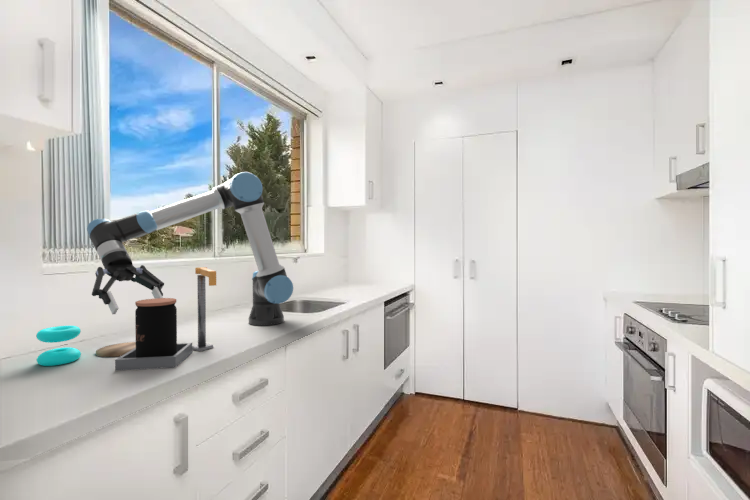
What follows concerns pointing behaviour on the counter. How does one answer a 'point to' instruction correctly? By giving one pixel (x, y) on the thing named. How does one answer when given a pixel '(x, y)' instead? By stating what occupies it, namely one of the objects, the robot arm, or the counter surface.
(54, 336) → the donuts
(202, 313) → the post
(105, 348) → the coaster
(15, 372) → the counter surface
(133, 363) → the grey square tray
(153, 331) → the coffee jar
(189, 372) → the counter surface
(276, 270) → the robot arm
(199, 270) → the clip arm
